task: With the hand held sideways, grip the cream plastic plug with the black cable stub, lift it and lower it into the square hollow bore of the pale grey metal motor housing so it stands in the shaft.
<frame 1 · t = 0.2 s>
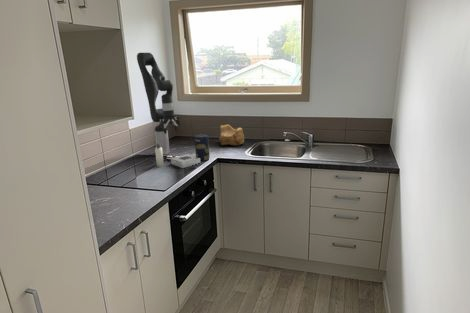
hand: (170, 132, 236), 18 cm above the worktop, tool pointing down, fingers open, 8 cm apart
plug: (160, 165, 219), on the worktop
rough brown rock: (228, 144, 271), on the worktop
motor housing: (185, 163, 221), on the worktop
canister: (202, 159, 230), on the worktop
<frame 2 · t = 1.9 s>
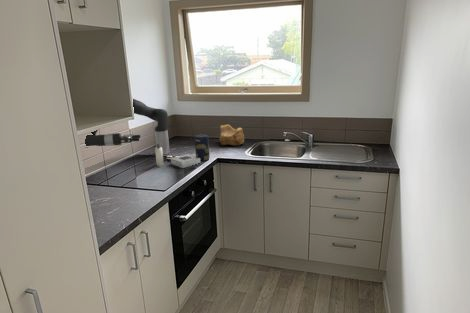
hand: (139, 137, 212), 20 cm above the worktop, tool horizontal, fingers open, 8 cm apart
nothing on the worktop moved.
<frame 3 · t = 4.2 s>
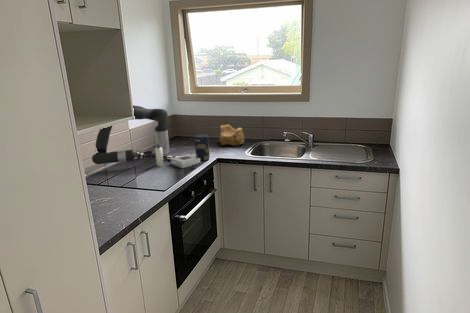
hand: (151, 153, 216), 8 cm above the worktop, tool horizontal, fingers open, 8 cm apart
nothing on the worktop moved.
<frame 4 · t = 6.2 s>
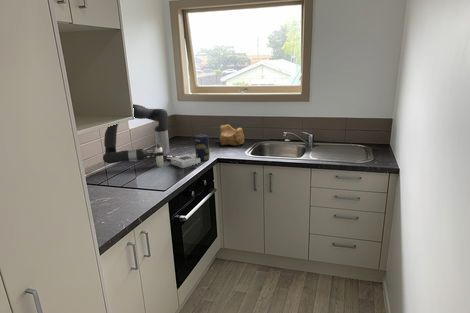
hand: (163, 152, 217), 9 cm above the worktop, tool horizontal, fingers closed on plug, 4 cm apart
plug: (160, 165, 219), on the worktop, touching gripper
everything else where it was.
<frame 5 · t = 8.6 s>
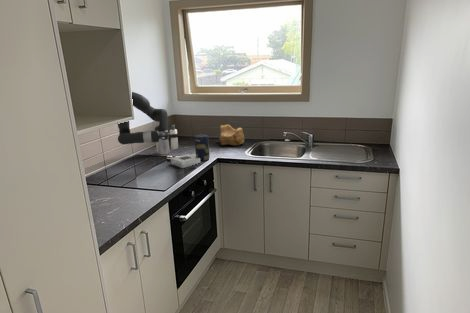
hand: (177, 134, 215), 20 cm above the worktop, tool horizontal, fingers closed on plug, 4 cm apart
plug: (174, 147, 217), point 11 cm above the worktop, touching gripper
everything else where it was.
when the fingers open (10 cm above the worktop, at t = 11.2 s): plug drops 1 cm, resting in motor housing.
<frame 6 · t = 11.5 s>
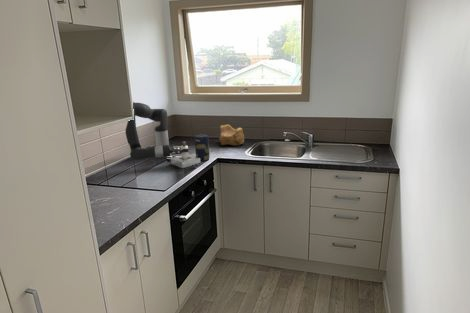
hand: (188, 148, 219), 10 cm above the worktop, tool horizontal, fingers open, 7 cm apart
plug: (185, 163, 221), resting in motor housing
everything else where it was.
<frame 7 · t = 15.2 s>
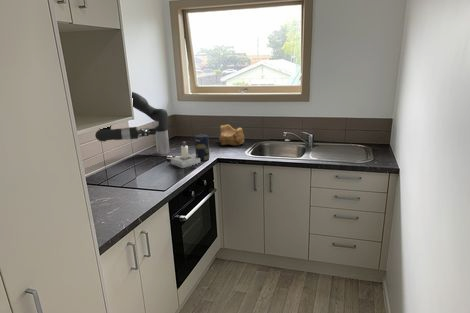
hand: (156, 131, 212), 23 cm above the worktop, tool horizontal, fingers open, 8 cm apart
nothing on the worktop moved.
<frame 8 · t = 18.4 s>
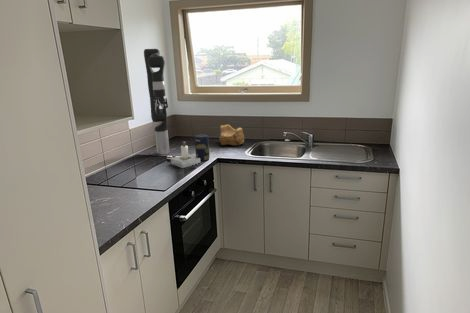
hand: (161, 114, 216), 33 cm above the worktop, tool pointing down, fingers open, 8 cm apart
nothing on the worktop moved.
at the end: plug 0.1 cm off-centre on the motor housing, point 0.0 cm above the motor housing's base; plug tilted 0°; the gripper is holding nothing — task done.
